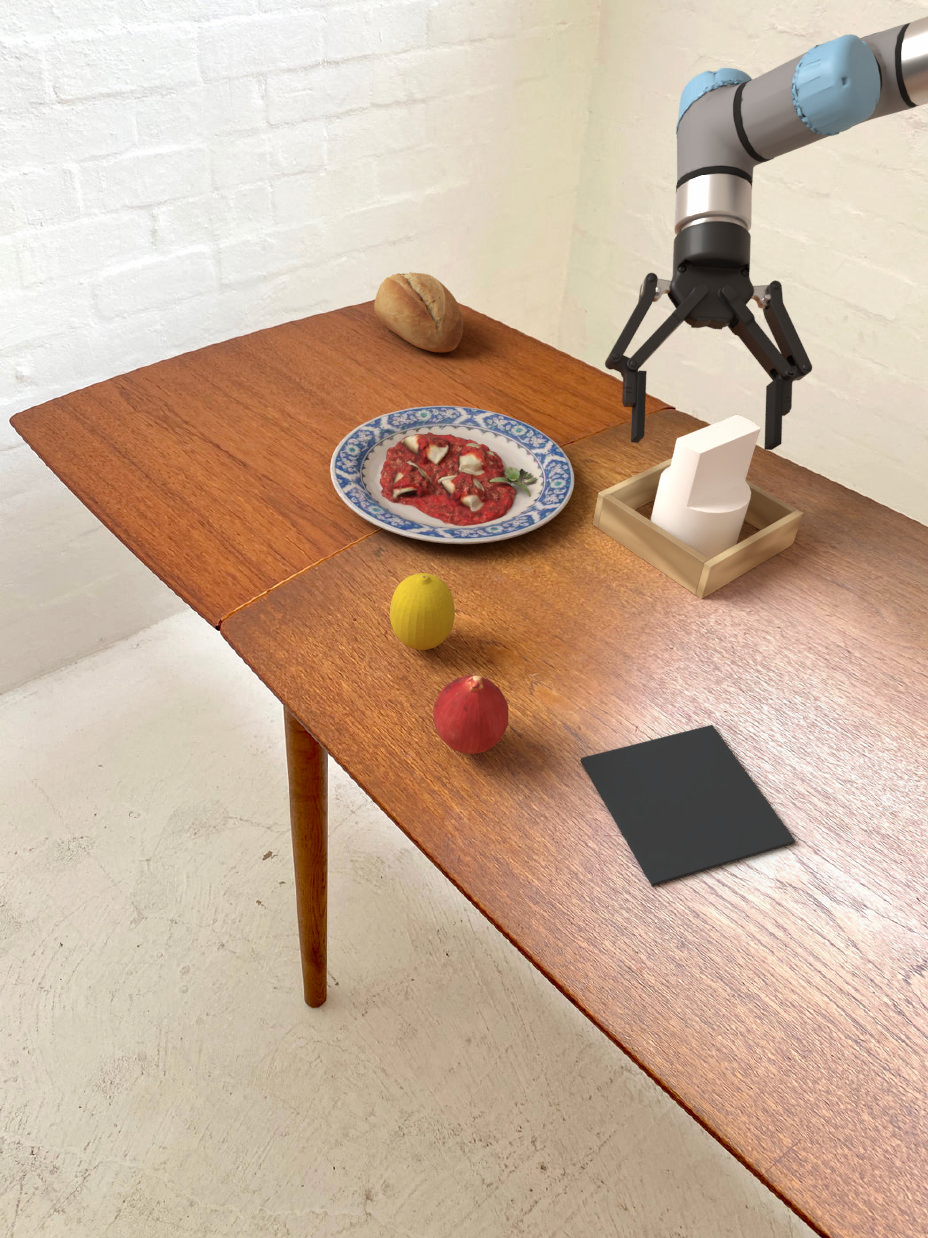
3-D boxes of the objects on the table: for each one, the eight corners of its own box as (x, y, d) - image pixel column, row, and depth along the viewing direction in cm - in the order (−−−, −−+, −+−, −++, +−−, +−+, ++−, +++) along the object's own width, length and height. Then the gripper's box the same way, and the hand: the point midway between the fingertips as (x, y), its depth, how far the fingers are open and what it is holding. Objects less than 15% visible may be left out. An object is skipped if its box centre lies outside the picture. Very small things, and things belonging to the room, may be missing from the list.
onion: (416, 744, 78) (419, 673, 72) (467, 708, 81) (474, 638, 76) (467, 787, 75) (474, 716, 69) (519, 749, 78) (529, 678, 73)
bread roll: (419, 368, 124) (421, 308, 119) (355, 323, 132) (354, 265, 127) (479, 350, 129) (483, 291, 123) (413, 307, 137) (415, 251, 132)
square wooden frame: (684, 479, 109) (692, 448, 106) (792, 544, 101) (804, 513, 98) (592, 524, 101) (598, 492, 99) (701, 599, 93) (711, 566, 91)
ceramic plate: (288, 521, 98) (287, 497, 96) (385, 403, 117) (386, 380, 115) (534, 586, 93) (538, 561, 91) (595, 451, 112) (599, 428, 110)
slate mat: (711, 727, 81) (712, 724, 81) (794, 843, 73) (795, 840, 72) (580, 760, 77) (580, 757, 77) (651, 887, 69) (652, 883, 69)
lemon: (381, 661, 84) (381, 590, 79) (399, 620, 89) (401, 550, 83) (443, 674, 84) (448, 604, 78) (459, 632, 88) (464, 562, 82)
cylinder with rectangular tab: (694, 572, 96) (722, 469, 88) (630, 526, 101) (652, 424, 93) (754, 542, 100) (787, 441, 92) (690, 499, 106) (716, 400, 98)
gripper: (819, 257, 103) (813, 457, 101) (582, 242, 102) (574, 444, 101) (850, 225, 95) (844, 441, 94) (595, 208, 94) (586, 426, 93)
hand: (705, 443), depth 97 cm, fingers open, 13 cm apart
